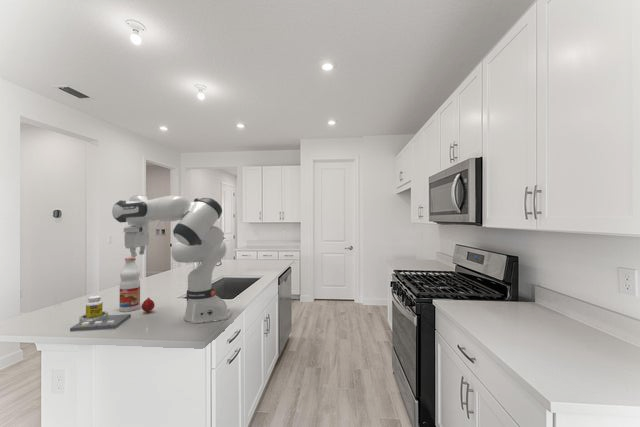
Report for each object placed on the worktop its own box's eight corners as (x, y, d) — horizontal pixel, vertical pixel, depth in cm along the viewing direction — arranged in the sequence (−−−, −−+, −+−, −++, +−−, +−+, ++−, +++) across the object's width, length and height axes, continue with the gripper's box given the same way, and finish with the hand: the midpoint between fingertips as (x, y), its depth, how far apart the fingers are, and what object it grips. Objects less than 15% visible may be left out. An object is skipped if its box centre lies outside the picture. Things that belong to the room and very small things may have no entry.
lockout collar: (111, 315, 142) (111, 310, 142) (100, 323, 132) (100, 318, 132) (88, 317, 140) (88, 312, 140) (75, 325, 130) (75, 319, 130)
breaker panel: (130, 317, 145) (130, 311, 145) (115, 328, 130) (115, 322, 130) (90, 319, 141) (90, 313, 141) (70, 331, 127) (70, 325, 127)
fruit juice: (143, 306, 161) (144, 256, 162) (132, 312, 152) (132, 259, 152) (127, 306, 162) (128, 256, 162) (115, 311, 152) (115, 259, 153)
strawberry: (140, 315, 148) (140, 299, 148) (143, 311, 153) (143, 296, 153) (152, 314, 149) (152, 298, 149) (155, 310, 155) (156, 295, 155)
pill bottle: (89, 323, 132) (89, 299, 132) (83, 321, 135) (83, 297, 135) (104, 319, 137) (105, 296, 137) (98, 317, 140) (98, 294, 140)
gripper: (139, 227, 153) (139, 253, 153) (121, 229, 133) (121, 258, 133) (152, 227, 154) (152, 253, 154) (136, 228, 134) (136, 258, 134)
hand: (137, 255), depth 143 cm, fingers open, 8 cm apart
